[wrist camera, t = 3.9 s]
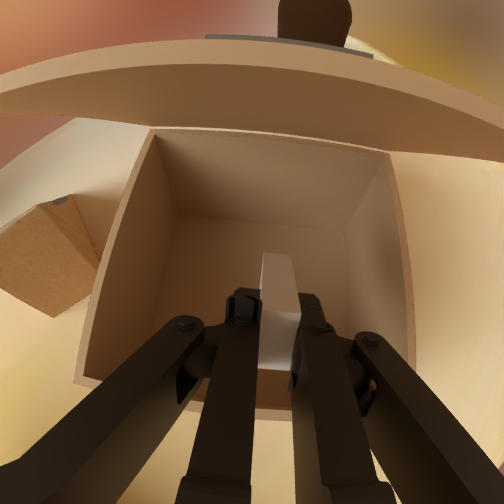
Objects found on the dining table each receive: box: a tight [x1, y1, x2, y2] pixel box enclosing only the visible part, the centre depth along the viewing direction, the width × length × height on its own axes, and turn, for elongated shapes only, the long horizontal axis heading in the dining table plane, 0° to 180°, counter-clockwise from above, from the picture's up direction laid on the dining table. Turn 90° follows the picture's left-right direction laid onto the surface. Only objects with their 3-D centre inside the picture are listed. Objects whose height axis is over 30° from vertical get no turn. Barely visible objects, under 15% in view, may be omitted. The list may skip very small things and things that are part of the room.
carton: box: [73, 129, 416, 421], centre depth 25 cm, size 20×20×13 cm
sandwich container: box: [0, 194, 100, 318], centre depth 26 cm, size 9×15×15 cm, turn 35°
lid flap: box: [0, 35, 504, 163], centre depth 14 cm, size 20×20×1 cm
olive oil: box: [277, 0, 352, 48], centre depth 36 cm, size 11×11×25 cm
